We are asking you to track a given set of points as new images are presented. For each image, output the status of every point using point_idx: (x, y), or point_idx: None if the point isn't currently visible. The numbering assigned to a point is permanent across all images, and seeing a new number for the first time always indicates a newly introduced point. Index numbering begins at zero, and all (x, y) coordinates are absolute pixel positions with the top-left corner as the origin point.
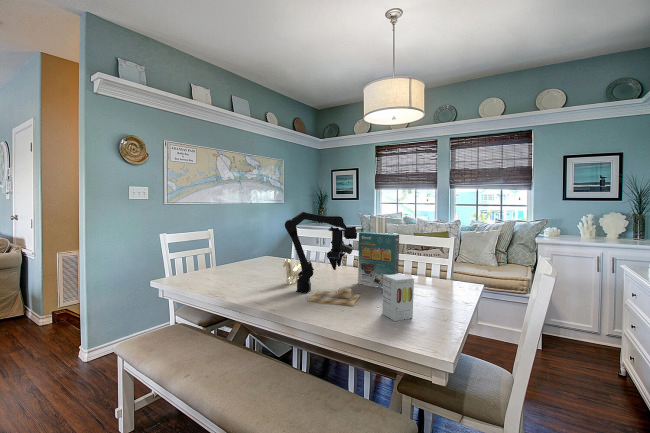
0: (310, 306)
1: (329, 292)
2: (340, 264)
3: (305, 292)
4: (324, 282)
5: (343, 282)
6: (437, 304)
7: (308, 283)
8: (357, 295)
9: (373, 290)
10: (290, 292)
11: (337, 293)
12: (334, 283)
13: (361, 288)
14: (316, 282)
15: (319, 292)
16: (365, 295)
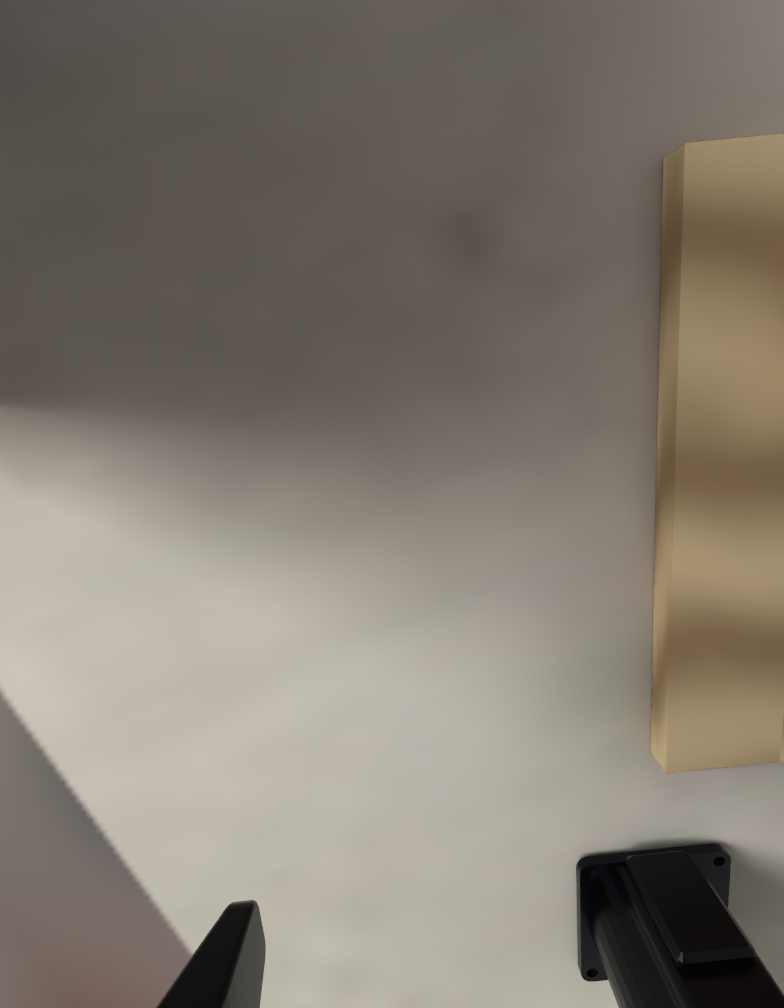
0: None
1: (705, 612)
2: (199, 963)
3: (729, 866)
4: (161, 858)
5: (8, 640)
6: None
7: (750, 963)
8: (732, 162)
9: (193, 14)
10: None
11: (717, 496)
12: (135, 732)
13: (181, 267)
14: None
15: (741, 724)
16: (539, 83)
